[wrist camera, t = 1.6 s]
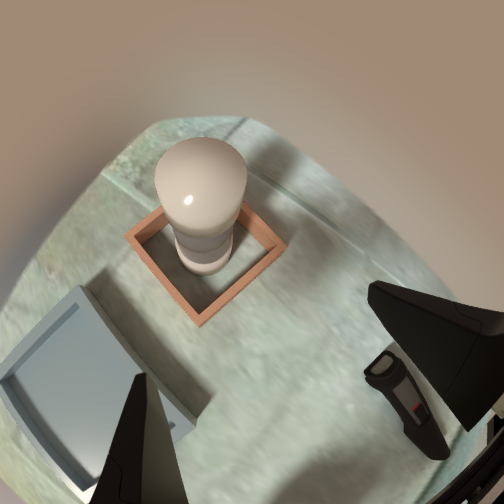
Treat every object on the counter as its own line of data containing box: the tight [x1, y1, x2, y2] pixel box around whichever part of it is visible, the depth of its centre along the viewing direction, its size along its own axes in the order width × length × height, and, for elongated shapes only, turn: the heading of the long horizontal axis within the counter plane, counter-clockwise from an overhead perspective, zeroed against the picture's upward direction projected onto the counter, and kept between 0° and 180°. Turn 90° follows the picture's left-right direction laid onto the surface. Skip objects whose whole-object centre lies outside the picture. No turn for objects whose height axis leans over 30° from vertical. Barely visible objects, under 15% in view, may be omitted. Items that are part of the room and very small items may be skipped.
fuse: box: [155, 137, 247, 276], centre depth 19 cm, size 4×4×12 cm
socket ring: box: [124, 200, 288, 328], centre depth 23 cm, size 9×9×2 cm
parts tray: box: [0, 284, 197, 504], centre depth 18 cm, size 14×14×2 cm
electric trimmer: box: [364, 351, 450, 460], centre depth 21 cm, size 4×16×3 cm, turn 36°
